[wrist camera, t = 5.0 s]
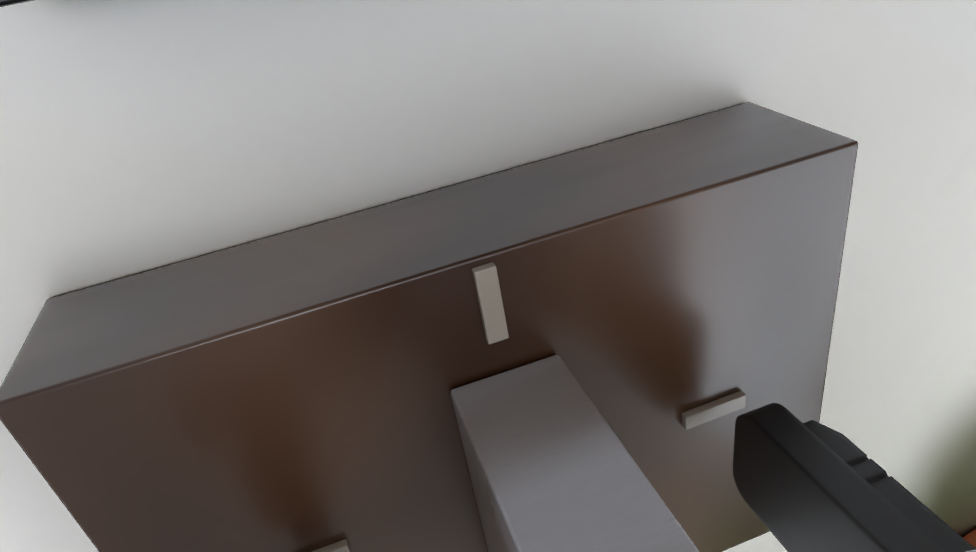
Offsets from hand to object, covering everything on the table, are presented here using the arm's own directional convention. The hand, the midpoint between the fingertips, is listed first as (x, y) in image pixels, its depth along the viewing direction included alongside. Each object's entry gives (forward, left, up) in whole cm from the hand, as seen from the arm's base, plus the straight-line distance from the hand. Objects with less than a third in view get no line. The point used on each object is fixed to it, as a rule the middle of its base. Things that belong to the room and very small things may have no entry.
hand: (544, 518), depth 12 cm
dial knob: (0, 0, -1) cm, 1 cm away
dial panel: (0, 0, -4) cm, 4 cm away
